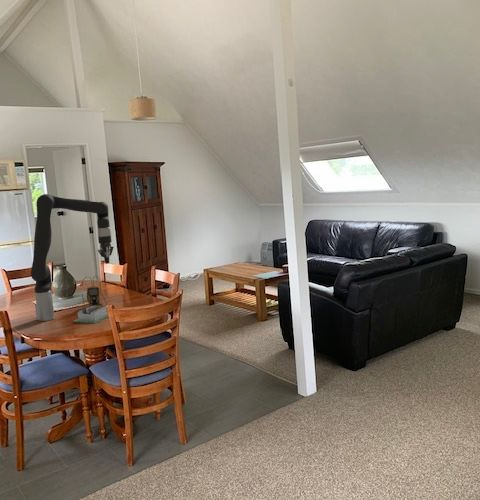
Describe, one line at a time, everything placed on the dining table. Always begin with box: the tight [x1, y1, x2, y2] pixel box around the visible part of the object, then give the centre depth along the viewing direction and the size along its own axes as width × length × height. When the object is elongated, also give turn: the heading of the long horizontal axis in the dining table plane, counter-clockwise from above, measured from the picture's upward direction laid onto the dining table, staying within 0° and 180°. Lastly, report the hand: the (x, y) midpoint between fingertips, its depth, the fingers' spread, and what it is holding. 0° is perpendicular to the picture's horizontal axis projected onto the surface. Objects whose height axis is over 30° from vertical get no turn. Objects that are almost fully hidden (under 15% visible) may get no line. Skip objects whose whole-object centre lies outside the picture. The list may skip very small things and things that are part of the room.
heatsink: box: [72, 303, 109, 324], centre depth 296 cm, size 16×19×7 cm
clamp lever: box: [85, 305, 101, 313], centre depth 295 cm, size 12×3×2 cm, turn 159°
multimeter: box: [81, 275, 108, 307], centre depth 319 cm, size 15×10×20 cm
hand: (107, 263), depth 301 cm, fingers closed
